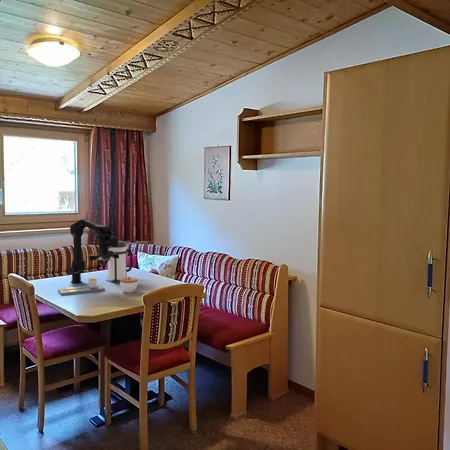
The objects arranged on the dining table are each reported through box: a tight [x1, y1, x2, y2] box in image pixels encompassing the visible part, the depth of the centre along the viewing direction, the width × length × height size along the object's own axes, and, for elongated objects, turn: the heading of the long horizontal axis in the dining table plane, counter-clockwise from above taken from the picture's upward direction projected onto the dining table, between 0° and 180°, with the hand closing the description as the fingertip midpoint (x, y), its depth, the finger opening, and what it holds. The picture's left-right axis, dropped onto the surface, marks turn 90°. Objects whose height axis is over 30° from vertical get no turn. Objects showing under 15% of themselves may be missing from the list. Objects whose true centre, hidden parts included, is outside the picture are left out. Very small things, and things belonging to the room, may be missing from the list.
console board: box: [57, 283, 106, 296], centre depth 285 cm, size 12×26×2 cm, turn 120°
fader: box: [88, 277, 98, 288], centre depth 288 cm, size 4×4×5 cm
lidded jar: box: [119, 276, 139, 293], centre depth 285 cm, size 11×11×9 cm
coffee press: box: [106, 237, 134, 284], centre depth 313 cm, size 17×16×30 cm
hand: (103, 269), depth 290 cm, fingers closed
